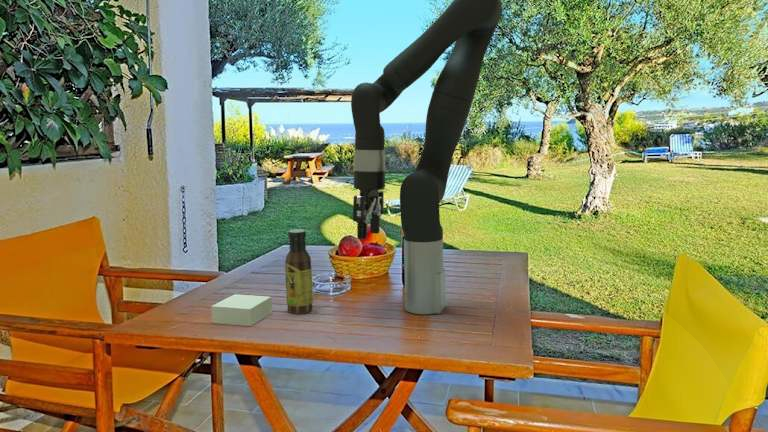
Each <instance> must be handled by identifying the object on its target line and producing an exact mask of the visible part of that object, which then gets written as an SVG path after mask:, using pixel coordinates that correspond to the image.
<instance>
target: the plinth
mask: <svg viewBox="0 0 768 432" xmlns="http://www.w3.org/2000/svg"><path fill="white" fill-rule="evenodd" d="M272 300H273V299H272V296H267V295H264V296H263V295H254V294H253V295H250V294H239V293H237V294H236V293H235V294H233V295H231V296H229V297H227V298H224V299H223V300H221V301H219V302H216V303H215V304H213V305H211V306H210V308H211V321H212V322H211V323H212V324H218V325H219V324H220V325H230V326H231V325H233V326H243V327H252V326H254V325H255V324H257V323H258V322H260V321H261V320H263V319H265V318H267V317H268V316H269V315H271V314H273V304H272V302H273V301H272Z"/></svg>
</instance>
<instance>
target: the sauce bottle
mask: <svg viewBox="0 0 768 432" xmlns="http://www.w3.org/2000/svg"><path fill="white" fill-rule="evenodd" d="M306 235H307V234H306V230H305V229H303V228H302V229H301V228H299V229H297V228H295V229H290V230H288V234H287V236H288V239H289V251H288V254H286V258H285V262H284V266H285V268H284V269H285V291H286V292H285V293H286V294H285V295H286V304H287V311H288V312H290V313H292V314H297V315H299V314H300V315H301V314H303V315H304V314H308V313H310V312H312V311H313V302H314V300H313V299H314V298H313V297H314V296H313V275H312V271H313V270H312V258H311V255H310V254H309V253H308V251H307V250H306V247H307V246H306V237H307V236H306Z"/></svg>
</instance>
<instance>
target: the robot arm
mask: <svg viewBox="0 0 768 432" xmlns="http://www.w3.org/2000/svg"><path fill="white" fill-rule="evenodd" d="M502 13H503V5H502V1H501V0H452V2H451V3H450V4H449V5H448V6H447V7H446V9H445V10H444V11H443V13H441V15H440V16H439V17H438V18H437V19H436V20H435V21H434V22H433V23H432V24H431V25H430V26H429V27H428V28H427V29H426V30H425V31H424V32H422V34H421V35H420V36H418V38H416V39H415V40H414V41H413V42H412V43H411V44H409V45H408V46H407V47H406V48H405V49H403V50H402V51H401V52H400V53H399V54H397V56H395V57H394V58H393V59H392V60H391V61H389V62H388V63H387V64H386V65H385V66H384V68H383V70H382V71H383V72H382V74H381V75H380V76H379V77H378V78H377V79H376V80H375V81H373V82H372V83H371V82H362V83H359V84H358V85H357V86H355V88H354V89H353V90H352V93H351V100H350V106H351V107H350V108H351V114H352V120H353V126H354V131H355V135H354V156H353V188H354V189H356V190H359V195H353V209H352V221H353V222H356V225H357V226H356V227H357V228H356V229H357V231H356V234H357V235H356V237H357V239H359V240H367V238H368V220H369V217H370V223H369V224H370V226H369V227H370V231H369V233H371V234H379V233H380V228H381V227H380V226H381V223H380V222H381V220H380V219H381V218H382V215H384V211H385V210H384V208H385V206H384V194H385V193H384V189H385V187H386V152H385V145H386V144H385V142H386V140H385V139H386V138H385V137H386V136H385V135H386V134H385V129H384V127H383V126H382V124H381V117H380V116H381V115H380V114H381V113H382V112H384V111H386V109H388V108H390V106H391V105H392V104H394V102H395V101H396V100H397V99H398V98H399V97H400V95H401V94H402V93H403V92H405V90H406V89H408V88H409V87H410V86H412V84H414V83H415V82H416V81H418V80H419V79H420V78H421V77H423V75H425V74H426V73H427V72H428V71H429V70H430V69H431V68H432V66H434V65H435V63H436V62H437V61H438V60H439V58H440V57H442V55H443V54H444V53H445V52H446V51H447V50H448V49H449V48H450V47H451V46H452V45H453V44H454V46H453V49H452V51H451V53H450V55H449V57H448V59H447V61H446V62H445V64H444V66H443V67H442V69H441V71H440V73H439V75H438V78H437V79H436V82H435V85H434V86H433V87H434V88H433V90H432V94H431V97H430V101H429V104H428V107H427V111H426V119H425V130H424V131H425V134H424V135H425V136H424V144H423V149H422V152H421V155H420V158H419V160H418V163H417V166H416V169H414V171H413V172H412V173H410V174H408V175H407V176H406V177H405V178H404V179H403V181H402V182H401V185H400V189H399V206H400V207H399V209H400V211H399V212H400V226H401V229H402V231H403V255H404V256H403V257H404V258H403V259H404V263H403V264H404V265H403V266H404V298H405V299H404V303H405V305H404V307H405V308H404V309H405V311H406V312H408V313H411V314H415V315H431V314H432V315H433V314H442V313H443V311H444V310H445V308H446V305H447V303H446V301H447V300H446V299H447V297H446V292H447V291H446V268H444V229H443V226H442V224H441V219H440V217H441V216H440V203H441V202H442V200H443V199H444V197H445V194H446V188H447V183H448V177H449V173H450V169H451V165H452V160H453V157H454V153H455V151H456V148H457V146H458V143H459V141H460V139H461V136H462V133H463V131H464V128H465V126H466V123H467V120H468V117H469V114H470V110H471V107H472V105H473V101H474V98H475V94H476V91H477V86H478V82H479V79H480V75H481V71H482V66H483V61H484V59H485V55H486V52H487V50H488V47H489V45H490V42H491V41H492V37H493V36H494V33H495V31H496V28H497V26H498V25H499V22H500V20H501V17H502Z"/></svg>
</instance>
